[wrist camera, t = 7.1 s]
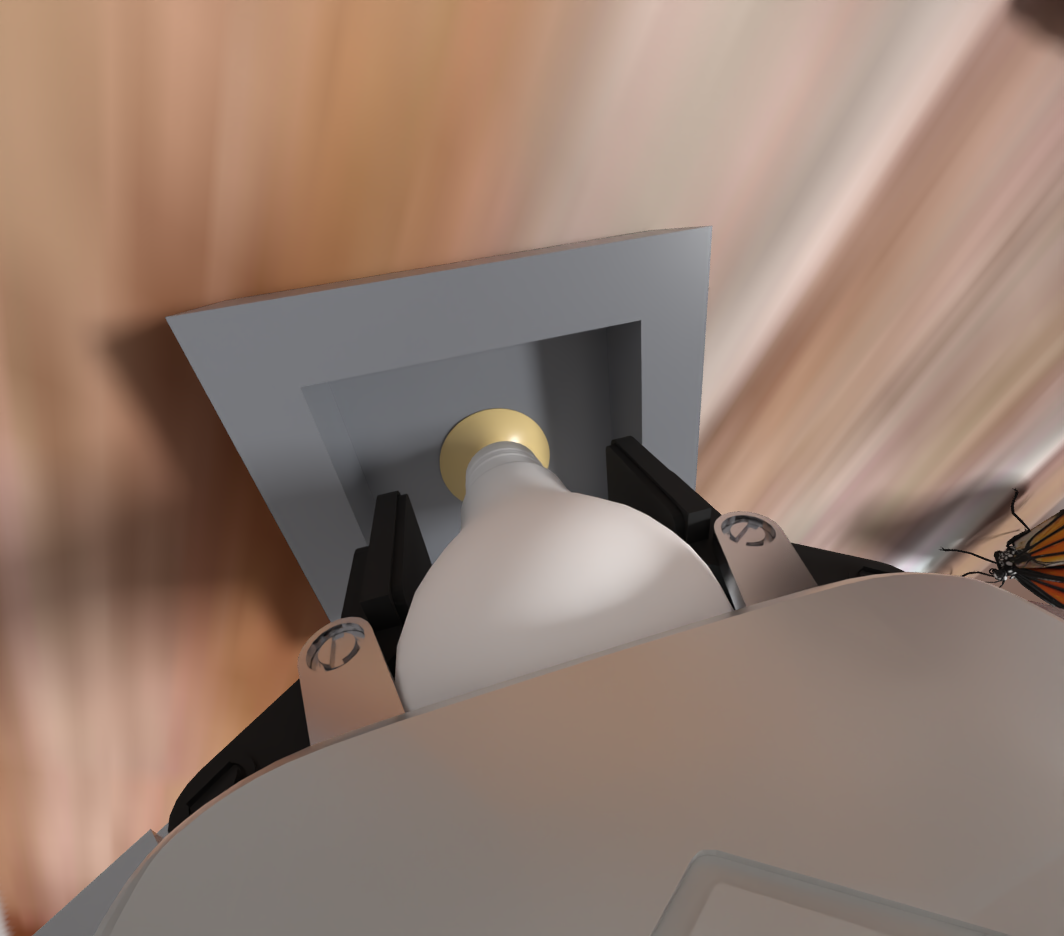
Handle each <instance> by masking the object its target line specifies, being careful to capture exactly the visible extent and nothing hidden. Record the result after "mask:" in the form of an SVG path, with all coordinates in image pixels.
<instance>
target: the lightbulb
mask: <svg viewBox="0 0 1064 936" xmlns="http://www.w3.org/2000/svg"><path fill="white" fill-rule="evenodd" d="M465 487H466V495H465V497H464V500H463V503H462V508H461V529H460V533H459V534H458V535H457V536H456V537H455V538H454V539H453V540H452V541H451V542H450V543H449V544H448V546H447V547H446V548H445V549H444V551H443V552H442V553H441V555H440V556H439V557H438V559H437V560H436V561H435V563H434V564H433V565H432V566H431V568H430V569H429V571H428V572H427V574H426V576H425V577H424V579H423V580H422V582H421V584H420V585H419V587H418V589H417V590H416V592H415V594H414V597H413V600H412V603H411V606H410V609H409V612H408V615H407V618H406V621H405V624H404V627H403V630H402V633H401V636H400V639H399V642H398V645H397V653H396V668H395V685H396V688H397V691H398V694H399V696H400V699H401V702H402V704H403V707H404V709H405V712H409V711H412V710H415V709H418V708H421V707H424V706H427V705H431V704H434V703H437V702H440V701H443V700H447V699H450V698H453V697H456V696H459V695H462V694H466V693H469V692H472V691H475V690H478V689H481V688H485V687H488V686H491V685H494V684H497V683H500V682H504V681H507V680H510V679H513V678H516V677H519V676H523V675H526V674H529V673H532V672H535V671H539V670H542V669H545V668H548V667H551V666H555V665H558V664H561V663H564V662H568V661H571V660H574V659H577V658H580V657H584V656H587V655H590V654H593V653H597V652H600V651H603V650H606V649H610V648H613V647H616V646H619V645H622V644H626V643H629V642H632V641H635V640H639V639H642V638H645V637H648V636H652V635H655V634H658V633H661V632H665V631H668V630H671V629H675V628H678V627H681V626H685V625H688V624H691V623H694V622H698V621H701V620H704V619H708V618H711V617H714V616H718V615H721V614H724V613H727V612H731V611H734V609H733V608H732V606H731V604H730V602H729V600H728V598H727V597H726V595H725V593H724V591H723V589H722V588H721V586H720V584H719V582H718V581H717V579H716V578H715V576H714V575H713V573H712V572H711V570H710V569H709V567H708V566H707V565H706V563H705V562H704V561H703V560H702V559H701V558H700V557H699V556H698V554H697V553H696V552H695V551H694V550H693V549H692V548H691V547H690V546H689V545H688V544H687V543H686V542H685V541H683V540H682V539H681V538H680V537H679V536H677V535H676V534H675V533H674V532H673V531H671V530H670V529H668V528H667V527H665V526H664V525H662V524H661V523H659V522H657V521H656V520H654V519H653V518H651V517H650V516H648V515H646V514H644V513H642V512H640V511H638V510H636V509H634V508H631V507H629V506H627V505H624V504H620V503H616V502H613V501H609V500H605V499H601V498H597V497H593V496H588V495H584V494H580V493H573V492H570V491H569V490H568V489H567V488H566V487H565V485H564V484H563V483H562V482H561V480H560V479H559V478H558V477H557V475H555V474H554V473H553V472H552V471H550V470H549V469H547V468H545V467H543V465H542V463H541V462H540V461H539V460H538V458H537V457H536V456H535V455H534V453H533V452H532V451H531V450H530V449H529V448H527V447H526V446H524V445H522V444H520V443H516V442H513V441H501V442H495V443H492V444H489V445H487V446H485V447H483V448H482V449H481V450H479V451H478V452H477V453H476V454H475V455H474V456H473V457H472V459H471V461H470V462H469V464H468V467H467V470H466V483H465Z"/></svg>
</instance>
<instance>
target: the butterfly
mask: <svg viewBox="0 0 1064 936" xmlns="http://www.w3.org/2000/svg"><path fill="white" fill-rule="evenodd" d="M1012 489H1013V488H1012ZM1014 490H1015V491H1016V492H1015V496H1014V498H1013V500H1012V503H1011V509H1012V514H1013V515H1014V516H1015V517H1016V518H1017V519H1018V520H1019V521H1020V522H1021V523H1022V524H1023V525H1024V526H1025V527H1026V528H1027V529H1028V530H1026V529H1025V531H1024V532H1021V533H1020V534H1018V535H1016V536H1014V537H1013V538H1011V539H1010V540H1009V541H1008V542H1007V545H1006V547H1007V549H1006V551H1004V552H1002V551H996V552H995V553H994V557H995V559H996V562H994V561H991V560H989V559H986V558H984V557H981V556H979V555H976V554H974V553H971V552H967V551H962V550H955V549H954V550H953V549H952V550H950V549H943V548H942V547H941V548H942V549H943V551H958V552H963V553H968V554H971V555H974V556H976V557H979V558H981V559H984V560H986V561H989V562H992V563H995V564H997V566H998V569H999V570H997V569H993V568H992V569H993V570H992V569H990V570H989V573H990V574H994V575H989V574H985V573H982V572H979V571H977V572H974V571H973V572H969V573H967V574H964V575H962V577H964V576H966V575H968V574H974V573H980V574H983V575H987V576H992V577H995V579H997V580H999V581H1003V582H1002V585H1003V584H1004V582H1005V580H1006V579H1007V576H1011V577H1010V579H1012V578H1015V579H1016V580H1018V581H1019V582H1020V583H1021V584H1022V585H1023V586H1024V587H1025V588H1027V589H1028V590H1030V591H1031V592H1033V593H1034V594H1035V595H1036V596H1038V597H1040V598H1041V599H1042V600H1044V601H1045V602H1047V603H1049V604H1050V605H1052V606H1054V607H1058V608H1061V609H1064V509H1063V510H1060V512H1059V513H1057V514H1055V515H1054V516H1052V517H1050V518H1049V519H1047V520H1046V521H1044V522H1042V523H1041V524H1039V525H1038V526H1036V527H1034V528H1033V529H1031V530H1030V529H1029V528H1028V527H1027V525H1026V524H1025V523H1024V522H1023V521H1022V520H1021V519H1020V518H1019V517H1018V516H1017V515H1016V514H1015V513H1014V502H1015V500H1016V497H1017V495H1018V491H1017V490H1016V488H1015V489H1014ZM1010 544H1012V545H1013V546H1009V545H1010ZM938 550H941V549H938ZM1001 566H1002V567H1001ZM991 570H992V572H993V571H994V572H993V573H991V572H990V571H991ZM999 581H996V582H999ZM996 582H986V583H996ZM1002 585H1001V586H1002ZM1001 586H1000V587H1001ZM1000 587H999V588H1000Z"/></svg>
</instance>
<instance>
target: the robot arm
mask: <svg viewBox="0 0 1064 936" xmlns="http://www.w3.org/2000/svg"><path fill="white" fill-rule="evenodd" d="M606 467H607V485H608V500H609V501H613V502H616V503H620V504H624V505H627V506H629V507H631V508H634V509H636V510H638V511H640V512H642V513H644V514H646V515H648V516H650V517H651V518H653V519H654V520H656V521H657V522H659V523H661V524H662V525H664V526H665V527H667V528H668V529H670V530H671V531H673V532H674V533H675V534H676V535H677V536H679V537H680V538H681V539H682V540H683V541H685V542H686V543H687V544H688V545H689V546H690V547H691V548H692V549H693V550H694V551H695V552H696V553H697V554H698V556H699V557H700V558H701V559H702V560H703V561H704V562H705V563H706V565H707V566H708V567H709V569H710V570H711V572H712V573H713V575H714V576H715V578H716V579H717V581H718V582H719V584H720V586H721V588H722V589H723V591H724V593H725V595H726V597H727V598H728V600H729V602H730V604H731V606H732V608H733V609H734V611H731V612H727V613H724V614H721V615H718V616H714V617H711V618H708V619H704V620H701V621H698V622H694V623H691V624H688V625H685V626H681V627H678V628H675V629H671V630H668V631H665V632H661V633H658V634H655V635H652V636H648V637H645V638H642V639H639V640H635V641H632V642H629V643H626V644H622V645H619V646H616V647H613V648H610V649H606V650H603V651H600V652H597V653H593V654H590V655H587V656H584V657H580V658H577V659H574V660H571V661H568V662H564V663H561V664H558V665H555V666H551V667H548V668H545V669H542V670H539V671H535V672H532V673H529V674H526V675H523V676H519V677H516V678H513V679H510V680H507V681H504V682H500V683H497V684H494V685H491V686H488V687H485V688H481V689H478V690H475V691H472V692H469V693H466V694H462V695H459V696H456V697H453V698H450V699H447V700H443V701H440V702H437V703H434V704H431V705H427V706H424V707H421V708H418V709H415V710H412V711H409V712H405V709H404V707H403V704H402V702H401V699H400V696H399V694H398V691H397V688H396V685H395V668H396V653H397V645H398V642H399V639H400V636H401V633H402V630H403V627H404V624H405V621H406V618H407V615H408V612H409V609H410V606H411V603H412V600H413V597H414V594H415V592H416V590H417V589H418V587H419V585H420V584H421V582H422V580H423V579H424V577H425V576H426V574H427V572H428V571H429V569H430V568H431V566H432V563H431V560H430V557H429V554H428V552H427V549H426V546H425V543H424V540H423V537H422V534H421V531H420V528H419V525H418V522H417V519H416V516H415V513H414V510H413V507H412V504H411V501H410V498H409V496H408V494H403V495H401V494H400V492H399V491H394V492H389V493H385V494H381V495H377V499H376V505H375V511H374V517H373V523H372V529H371V535H370V542H369V546H365V547H361V548H357V549H356V550H355V553H354V556H353V561H352V566H351V571H350V576H349V580H348V585H347V590H346V595H345V600H344V605H343V609H342V614H341V619H338V620H336V621H333V622H331V623H329V624H327V625H326V626H324V627H322V628H321V629H319V630H318V631H317V632H316V633H315V634H314V635H312V636H311V637H310V638H309V639H308V641H307V642H306V643H305V645H304V646H303V647H302V650H301V652H300V654H299V657H298V672H299V679H298V680H297V681H296V682H295V683H294V684H293V685H292V686H291V687H290V688H289V689H288V690H287V691H285V692H284V693H283V694H282V695H281V696H280V697H279V698H278V699H277V700H276V701H275V702H274V703H272V704H271V705H270V706H269V707H268V708H267V709H266V710H265V711H264V712H263V713H262V714H261V715H260V716H258V717H257V718H256V719H255V720H254V721H253V722H252V723H251V724H250V725H249V726H248V727H247V728H245V729H244V730H243V731H242V732H241V733H240V734H239V735H238V736H237V737H236V738H235V739H234V740H233V741H231V742H230V743H229V744H228V745H227V746H226V747H225V748H224V749H223V750H222V751H221V752H220V753H218V754H217V755H216V756H215V757H214V758H213V759H212V760H211V761H210V762H209V763H208V764H207V765H206V766H204V767H203V768H202V769H201V770H200V771H199V772H198V773H197V774H196V776H195V777H194V778H193V779H192V780H191V781H190V782H189V783H188V784H187V786H186V787H185V789H184V790H183V791H182V793H181V794H180V796H179V797H178V799H177V800H176V803H175V805H174V807H173V810H172V812H171V814H170V818H169V823H168V824H166V825H165V826H164V827H163V828H162V829H161V830H160V831H159V832H158V833H155V832H154V831H152V830H151V829H150V830H149V831H148V832H147V833H146V834H145V835H144V836H142V837H141V838H140V839H139V840H138V841H137V842H136V843H135V844H134V845H132V846H131V847H130V848H129V849H128V850H127V851H126V852H125V853H124V854H122V855H121V856H120V857H119V858H118V859H117V860H116V861H115V862H114V863H113V864H111V865H110V866H109V867H108V868H107V869H106V870H105V871H104V872H103V873H101V874H100V875H99V876H98V877H97V878H96V879H95V880H94V881H93V882H91V883H90V884H89V885H88V886H87V887H86V888H85V889H84V890H83V891H81V892H80V893H79V894H78V895H77V896H76V897H75V898H74V899H73V900H72V901H70V902H69V903H68V904H67V905H66V906H65V907H64V908H63V909H62V910H60V911H59V912H58V913H57V914H56V915H55V916H54V917H53V918H52V919H50V920H49V921H48V922H47V923H46V924H45V925H44V926H43V927H42V928H41V929H39V930H38V931H37V932H36V933H35V934H34V935H33V936H1064V609H1061V608H1058V607H1054V606H1051V605H1047V604H1043V603H1038V602H1032V601H1027V600H1025V599H1023V598H1021V597H1019V596H1017V595H1014V594H1012V593H1010V592H1008V591H1006V590H1004V589H1001V588H999V587H996V586H994V585H991V584H989V583H986V582H983V581H979V580H976V579H972V578H968V577H962V576H956V575H949V574H939V573H917V572H904V571H902V570H900V569H898V568H896V567H894V566H891V565H888V564H885V563H881V562H878V561H873V560H868V559H864V558H859V557H855V556H850V555H845V554H841V553H836V552H832V551H827V550H822V549H818V548H813V547H809V546H804V545H799V544H795V543H790V541H789V539H788V538H787V536H786V535H785V533H784V532H783V530H782V529H781V528H780V526H779V525H778V524H777V523H776V522H774V521H773V520H771V519H769V518H768V517H765V516H763V515H760V514H756V513H752V512H741V511H737V512H730V513H727V514H724V515H721V514H720V513H719V512H718V511H717V510H715V509H714V508H713V507H712V506H711V505H710V504H709V503H708V502H707V501H705V500H704V499H703V498H702V497H701V496H700V495H699V494H698V493H696V492H695V491H694V490H693V489H692V488H691V487H690V486H689V485H688V484H686V483H685V482H684V481H683V480H682V479H681V478H680V477H679V476H677V475H676V474H675V473H674V472H672V471H671V470H669V469H668V468H667V467H666V466H665V465H664V464H663V463H662V462H660V461H659V460H658V459H657V458H656V457H655V456H654V455H653V454H652V453H650V452H649V451H648V450H647V449H646V448H645V447H644V446H643V445H642V444H640V443H639V442H638V441H637V440H636V439H635V438H634V437H633V436H626V437H622V438H618V439H613V440H612V441H611V445H609V446H607V447H606Z"/></svg>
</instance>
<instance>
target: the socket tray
mask: <svg viewBox="0 0 1064 936" xmlns="http://www.w3.org/2000/svg"><path fill="white" fill-rule="evenodd" d="M711 239H712V226H702V227H688V228H675V229H661V230H650V231H643V232H637V233H631V234H625V235H619V236H613V237H607V238H601V239H595V240H589V241H583V242H577V243H571V244H565V245H559V246H553V247H547V248H541V249H535V250H529V251H522V252H516V253H510V254H504V255H498V256H492V257H486V258H480V259H474V260H468V261H462V262H456V263H450V264H444V265H438V266H432V267H426V268H420V269H414V270H408V271H401V272H395V273H389V274H383V275H377V276H371V277H365V278H359V279H353V280H347V281H341V282H335V283H329V284H323V285H317V286H311V287H305V288H299V289H293V290H286V291H280V292H274V293H268V294H262V295H256V296H250V297H244V298H238V299H232V300H226V301H222V302H219V303H215V304H211V305H208V306H204V307H201V308H197V309H193V310H190V311H186V312H182V313H179V314H175V315H172V316H168V317H165V318H166V320H167V322H168V324H169V326H170V327H171V329H172V331H173V333H174V335H175V337H176V338H177V340H178V342H179V344H180V346H181V348H182V349H183V351H184V353H185V355H186V357H187V359H188V360H189V362H190V364H191V366H192V368H193V370H194V372H195V373H196V375H197V377H198V379H199V381H200V383H201V384H202V386H203V388H204V390H205V392H206V394H207V395H208V397H209V399H210V401H211V403H212V405H213V406H214V408H215V410H216V412H217V414H218V416H219V418H220V419H221V421H222V423H223V425H224V427H225V429H226V430H227V432H228V434H229V436H230V438H231V440H232V441H233V443H234V445H235V447H236V449H237V451H238V452H239V454H240V456H241V458H242V460H243V462H244V464H245V465H246V467H247V469H248V471H249V473H250V475H251V476H252V478H253V480H254V482H255V484H256V486H257V487H258V489H259V491H260V493H261V495H262V497H263V499H264V500H265V502H266V504H267V506H268V508H269V510H270V511H271V513H272V515H273V517H274V519H275V521H276V522H277V524H278V526H279V528H280V530H281V532H282V533H283V535H284V537H285V539H286V541H287V543H288V545H289V546H290V548H291V550H292V552H293V554H294V556H295V557H296V559H297V561H298V563H299V565H300V567H301V568H302V570H303V572H304V574H305V576H306V578H307V579H308V581H309V583H310V585H311V587H312V589H313V591H314V592H315V594H316V596H317V598H318V600H319V602H320V603H321V605H322V607H323V609H324V611H325V613H326V614H327V616H328V618H329V620H330V622H333V621H336V620H338V619H341V614H342V609H343V605H344V600H345V595H346V590H347V585H348V580H349V576H350V571H351V566H352V561H353V556H354V553H355V550H356V549H357V548H361V547H365V546H369V542H370V535H371V529H372V523H373V517H374V511H375V505H376V499H377V495H381V494H385V493H389V492H394V491H399V492H400V494H401V495H403V494H408V496H409V498H410V501H411V504H412V507H413V510H414V513H415V516H416V519H417V522H418V525H419V528H420V531H421V534H422V537H423V540H424V543H425V546H426V549H427V552H428V554H429V557H430V560H431V563H432V565H433V564H434V563H435V561H436V560H437V559H438V557H439V556H440V555H441V553H442V552H443V551H444V549H445V548H446V547H447V546H448V544H449V543H450V542H451V541H452V540H453V539H454V538H455V537H456V536H457V535H458V534H459V533H460V529H461V508H462V503H463V500H464V497H465V495H466V487H465V483H466V470H467V467H468V464H469V462H470V461H471V459H472V457H473V456H474V455H475V454H476V453H477V452H478V451H479V450H481V449H482V448H483V447H485V446H487V445H489V444H492V443H495V442H501V441H513V442H516V443H520V444H522V445H524V446H526V447H527V448H529V449H530V450H531V451H532V452H533V453H534V455H535V456H536V457H537V458H538V460H539V461H540V462H541V463H542V465H543V467H545V468H547V469H549V470H550V471H552V472H553V473H554V474H555V475H557V477H558V478H559V479H560V480H561V482H562V483H563V484H564V485H565V487H566V488H567V489H568V490H569V491H570V492H573V493H580V494H584V495H588V496H593V497H597V498H601V499H605V500H608V485H607V467H606V447H607V446H609V445H611V441H612V440H613V439H618V438H622V437H626V436H633V437H634V438H635V439H636V440H637V441H638V442H639V443H640V444H642V445H643V446H644V447H645V448H646V449H647V450H648V451H649V452H650V453H652V454H653V455H654V456H655V457H656V458H657V459H658V460H659V461H660V462H662V463H663V464H664V465H665V466H666V467H667V468H668V469H669V470H671V471H672V472H674V473H675V474H676V475H677V476H679V477H680V478H681V479H682V480H683V481H684V482H685V483H686V484H688V485H689V486H690V487H691V488H692V489H693V490H694V491H695V487H696V472H697V456H698V441H699V425H700V410H701V394H702V379H703V363H704V348H705V332H706V317H707V301H708V286H709V270H710V255H711Z"/></svg>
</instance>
